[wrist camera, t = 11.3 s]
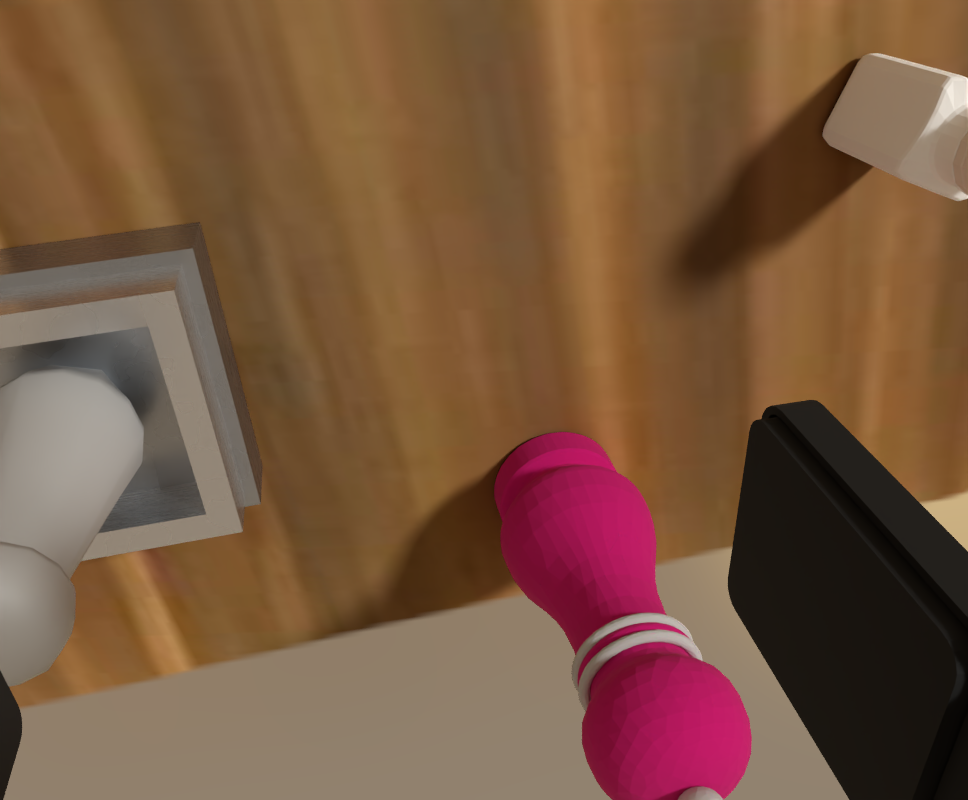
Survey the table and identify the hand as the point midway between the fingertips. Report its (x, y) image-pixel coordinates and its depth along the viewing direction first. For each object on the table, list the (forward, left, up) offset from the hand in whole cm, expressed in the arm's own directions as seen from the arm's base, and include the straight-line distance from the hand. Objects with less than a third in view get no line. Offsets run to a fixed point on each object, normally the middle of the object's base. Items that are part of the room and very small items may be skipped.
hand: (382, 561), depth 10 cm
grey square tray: (+10, -11, -27) cm, 31 cm away
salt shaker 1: (+10, -11, -24) cm, 29 cm away
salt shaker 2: (+3, +24, -27) cm, 36 cm away
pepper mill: (+20, +9, -27) cm, 35 cm away
